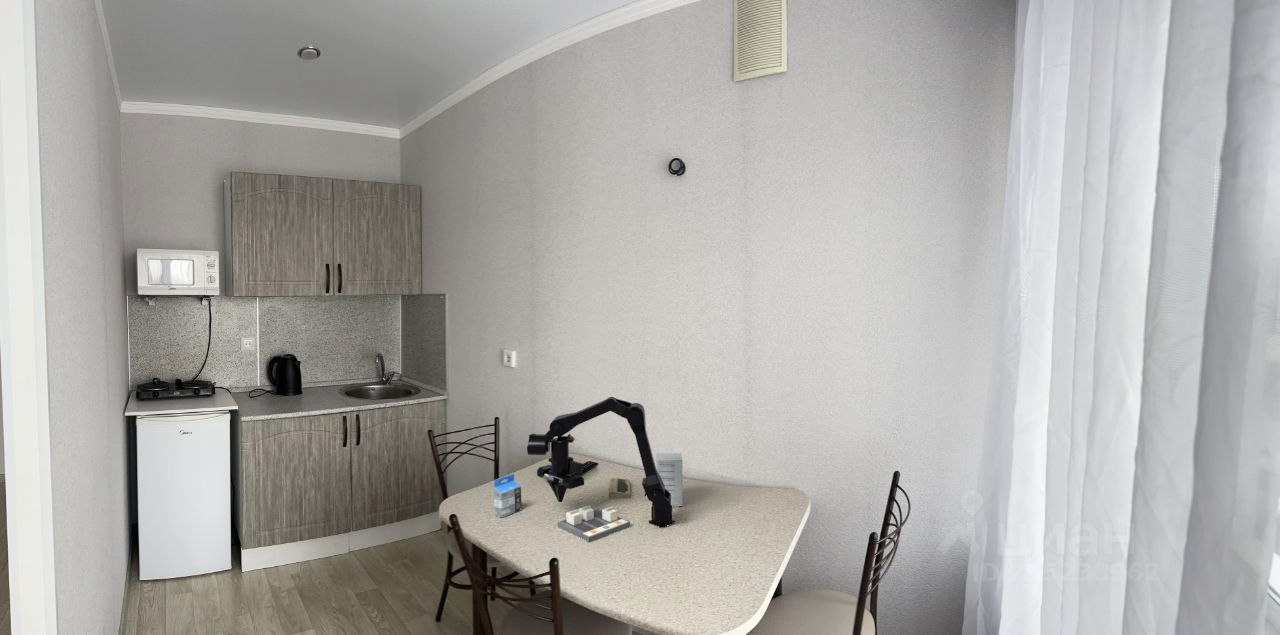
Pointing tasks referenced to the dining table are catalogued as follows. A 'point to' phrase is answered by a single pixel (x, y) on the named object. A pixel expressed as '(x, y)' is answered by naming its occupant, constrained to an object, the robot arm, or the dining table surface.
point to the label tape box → (507, 496)
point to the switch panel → (594, 527)
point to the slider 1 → (574, 517)
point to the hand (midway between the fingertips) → (560, 501)
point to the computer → (619, 488)
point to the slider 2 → (609, 514)
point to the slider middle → (587, 513)
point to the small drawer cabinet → (671, 475)
